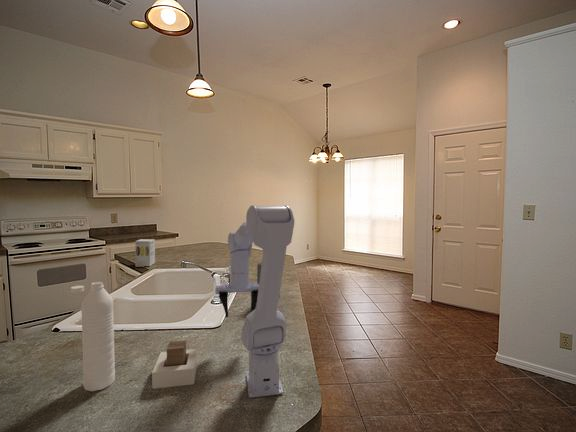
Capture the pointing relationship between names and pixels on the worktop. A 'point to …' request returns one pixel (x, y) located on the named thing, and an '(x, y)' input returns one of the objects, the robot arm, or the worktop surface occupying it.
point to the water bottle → (97, 337)
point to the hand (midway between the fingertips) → (239, 315)
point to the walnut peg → (176, 353)
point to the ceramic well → (175, 371)
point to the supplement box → (144, 252)
